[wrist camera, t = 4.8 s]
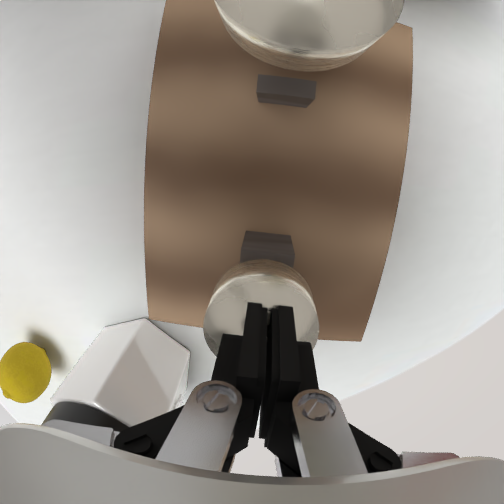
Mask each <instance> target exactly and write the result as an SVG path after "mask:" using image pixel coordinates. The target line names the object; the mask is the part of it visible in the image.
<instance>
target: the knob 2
mask: <svg viewBox="0 0 504 504" xmlns="http://www.w3.org/2000/svg"><path fill="white" fill-rule="evenodd" d="M248 302H253V303H262V307H264V308H268V313H267V337H268V330H269V324H270V317H271V311H272V308H273V309H277V307H278V305H281V306H291V307H293V312H294V320H295V329H296V338H297V341H303V342H310V343H311V345H312V350H313V348H314V346H315V344H316V342H317V339H318V335H319V321H318V316H317V312H316V308H315V304H314V301H313V297H312V293H311V290H310V287H309V285H308V283H307V282H306V280H305V279H304V278H303V277H302V276H301V274H300V273H298V272H297V271H296V270H295V269H293V268H292V267H290V266H288V265H286V264H284V263H281V262H278V261H274V260H268V259H256V260H250V261H246V262H243V263H240V264H238V265H236V266H234V267H232V268H231V269H229V270H228V271H227V272H226V273H225V274H224V275H223V276H222V277H221V278H220V279H219V281H218V283H217V284H216V286H215V289H214V291H213V294H212V297H211V300H210V302H209V305H208V308H207V311H206V314H205V317H204V323H203V330H204V336H205V339H206V342H207V344H208V346H209V348H210V349H211V351H212V352H213V353H214V355H215V356H216V357H217V354H218V350H219V346H220V342H221V338H222V335H223V333H225V334H233V335H241V336H243V331H244V325H245V318H246V311H247V304H248Z"/></svg>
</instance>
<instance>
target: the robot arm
mask: <svg viewBox="0 0 504 504" xmlns="http://www.w3.org/2000/svg"><path fill="white" fill-rule="evenodd" d="M267 313H268V308H264V307H262V303H253V302H248V304H247V311H246V318H245V325H244V331H243V336H241V335H233V334H225V333H223V335H222V338H221V342H220V346H219V350H218V354H217V358H216V362H215V366H214V370H213V375H212V379H211V381H207V382H203V383H201V384H199V385H198V386H196V387H195V388H194V390H193V391H192V392H191V394H190V396H189V398H188V400H187V402H186V404H185V405H183V406H181V407H179V408H177V409H174V410H172V411H169V412H167V413H165V414H162V415H160V416H157V417H155V418H152V419H150V420H147V421H144V422H142V423H139V424H137V425H134V426H131V427H128V428H126V429H124V430H123V431H121V432H116V431H113V429H112V428H107V427H99V426H92V425H86V424H80V423H74V422H69V421H63V420H50V421H47V422H46V423H45V424H43V425H42V426H41V425H34V424H25V423H13V424H6V425H3V426H1V427H0V504H504V461H503V460H500V459H497V458H492V457H480V456H478V457H462V458H460V457H459V456H457V455H456V454H454V453H424V452H422V453H421V452H402V453H401V454H396V453H395V452H394V451H393V450H392V449H390V448H388V447H387V446H385V445H383V444H382V443H380V442H378V441H377V440H375V439H373V438H371V437H370V436H368V435H367V434H365V433H364V432H362V431H361V430H359V429H357V428H356V427H354V426H353V425H351V424H349V423H348V422H347V419H346V417H345V414H344V412H343V410H342V407H341V405H340V403H339V401H338V400H337V398H335V397H334V396H333V395H332V394H330V393H328V392H326V391H322V390H319V387H318V381H317V375H316V369H315V363H314V357H313V351H312V345H311V343H310V342H303V341H297V338H296V329H295V320H294V312H293V307H291V306H281V305H278V307H277V309H273V308H272V311H271V317H270V324H269V330H268V337H267ZM260 405H261V409H260ZM259 410H260V426H259V438H262V439H265V444H264V447H267V449H269V450H270V451H271V452H272V453H273V454H274V455H276V456H275V464H276V469H277V475H278V477H271V476H254V475H243V474H234V473H230V471H231V468H232V465H233V462H234V459H235V454H236V453H238V452H239V451H241V450H243V449H244V448H246V447H247V446H248V440H249V437H251V438H254V435H255V431H256V426H257V421H258V416H259Z"/></svg>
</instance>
